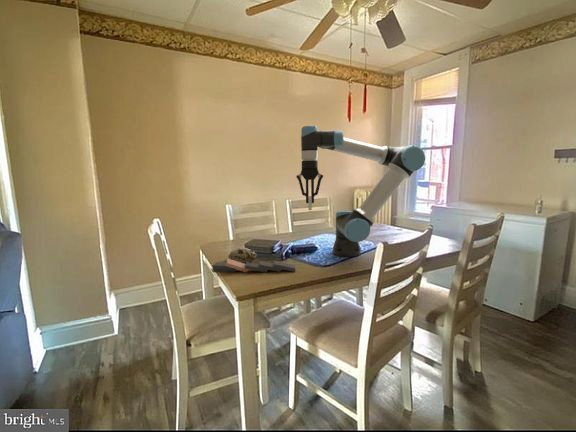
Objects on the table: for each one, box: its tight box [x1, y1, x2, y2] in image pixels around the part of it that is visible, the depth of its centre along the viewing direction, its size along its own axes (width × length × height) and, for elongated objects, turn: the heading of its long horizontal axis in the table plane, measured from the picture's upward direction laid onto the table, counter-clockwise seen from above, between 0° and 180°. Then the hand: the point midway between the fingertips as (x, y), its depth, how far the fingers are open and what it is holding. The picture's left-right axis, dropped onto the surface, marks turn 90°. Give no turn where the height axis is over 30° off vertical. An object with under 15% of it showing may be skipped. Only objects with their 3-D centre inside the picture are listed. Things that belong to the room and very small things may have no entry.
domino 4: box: [245, 262, 268, 273], centre depth 141 cm, size 2×5×10 cm
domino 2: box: [212, 268, 237, 273], centre depth 144 cm, size 2×5×10 cm
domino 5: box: [259, 260, 282, 273], centre depth 141 cm, size 2×5×10 cm
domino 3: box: [225, 258, 249, 273], centre depth 141 cm, size 2×5×10 cm
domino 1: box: [211, 261, 234, 270], centre depth 144 cm, size 2×5×10 cm
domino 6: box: [272, 260, 296, 272], centre depth 141 cm, size 2×5×10 cm
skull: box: [227, 247, 257, 264], centre depth 154 cm, size 10×16×10 cm
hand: (310, 209), depth 148 cm, fingers closed
